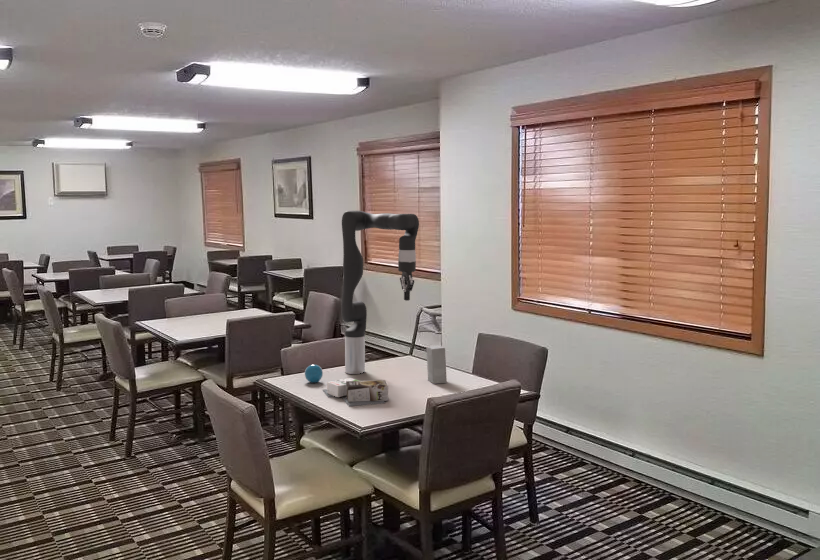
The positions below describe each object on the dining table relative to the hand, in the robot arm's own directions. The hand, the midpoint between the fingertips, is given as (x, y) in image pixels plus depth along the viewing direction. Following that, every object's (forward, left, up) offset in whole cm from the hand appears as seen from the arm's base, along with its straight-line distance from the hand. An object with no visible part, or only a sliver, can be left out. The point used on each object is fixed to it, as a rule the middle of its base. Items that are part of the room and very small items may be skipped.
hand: (406, 300), depth 297 cm
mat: (+13, -27, -37) cm, 48 cm away
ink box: (+6, -24, -34) cm, 42 cm away
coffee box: (+20, -15, -33) cm, 41 cm away
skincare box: (0, +14, -37) cm, 40 cm away
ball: (-15, -38, -37) cm, 55 cm away
